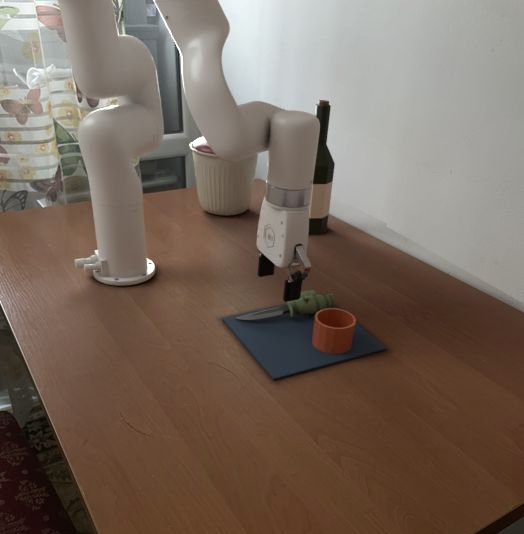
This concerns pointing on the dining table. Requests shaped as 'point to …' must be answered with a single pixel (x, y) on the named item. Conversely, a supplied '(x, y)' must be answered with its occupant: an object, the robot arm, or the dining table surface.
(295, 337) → the mat
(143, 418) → the dining table surface
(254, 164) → the canister
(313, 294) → the knife
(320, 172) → the wine bottle
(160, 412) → the dining table surface
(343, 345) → the ramekin
